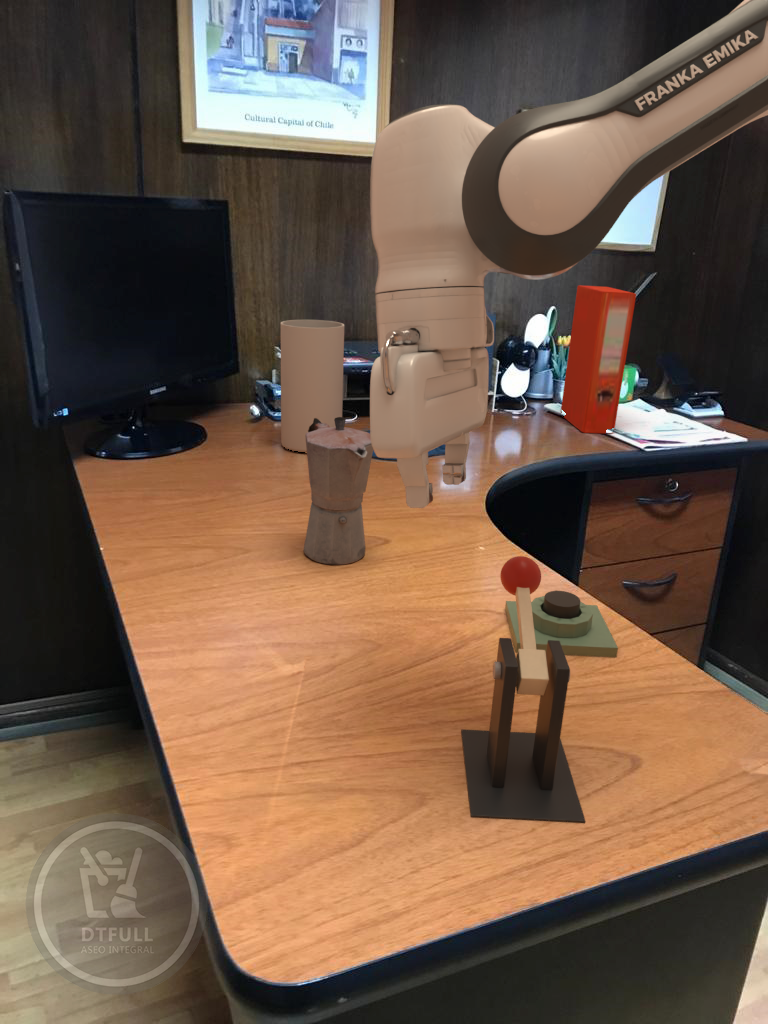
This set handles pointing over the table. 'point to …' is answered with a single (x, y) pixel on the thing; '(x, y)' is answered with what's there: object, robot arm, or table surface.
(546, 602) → the button
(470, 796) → the switch base
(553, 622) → the block
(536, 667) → the lever
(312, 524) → the moka pot
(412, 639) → the table surface
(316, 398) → the cylinder vase
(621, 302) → the file binder
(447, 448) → the robot arm
